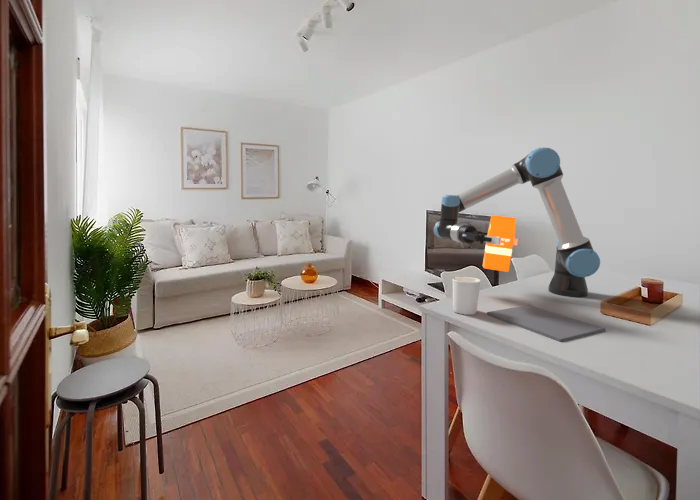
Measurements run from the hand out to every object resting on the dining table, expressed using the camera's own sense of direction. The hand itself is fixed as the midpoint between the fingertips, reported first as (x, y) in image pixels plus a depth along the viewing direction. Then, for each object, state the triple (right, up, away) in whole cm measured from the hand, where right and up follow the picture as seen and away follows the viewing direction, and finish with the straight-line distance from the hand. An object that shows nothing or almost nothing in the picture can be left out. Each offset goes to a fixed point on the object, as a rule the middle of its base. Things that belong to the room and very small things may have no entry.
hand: (509, 241), depth 140 cm
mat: (+6, -27, -11) cm, 30 cm away
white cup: (-17, -26, -1) cm, 31 cm away
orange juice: (-3, -10, +5) cm, 12 cm away
